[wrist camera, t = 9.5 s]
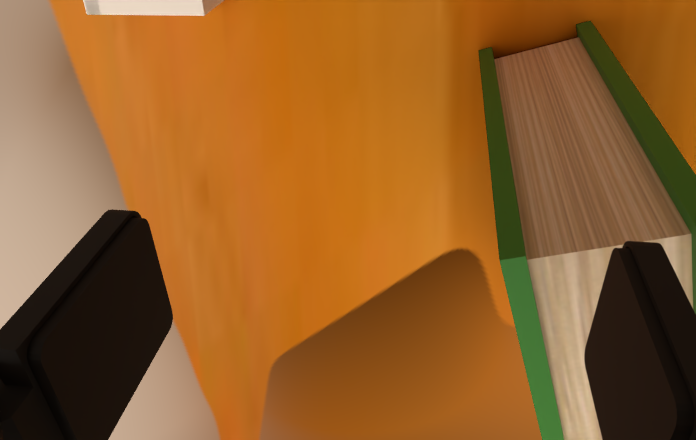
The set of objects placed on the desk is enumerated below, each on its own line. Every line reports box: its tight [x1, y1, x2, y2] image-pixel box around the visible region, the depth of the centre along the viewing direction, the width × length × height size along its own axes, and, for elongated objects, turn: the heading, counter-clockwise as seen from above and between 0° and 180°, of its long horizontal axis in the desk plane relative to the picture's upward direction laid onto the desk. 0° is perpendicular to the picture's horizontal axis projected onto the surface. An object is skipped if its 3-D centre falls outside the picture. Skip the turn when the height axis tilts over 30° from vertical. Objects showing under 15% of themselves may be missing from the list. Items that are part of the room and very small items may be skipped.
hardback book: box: [478, 21, 696, 440], centre depth 34 cm, size 18×7×24 cm, turn 19°
